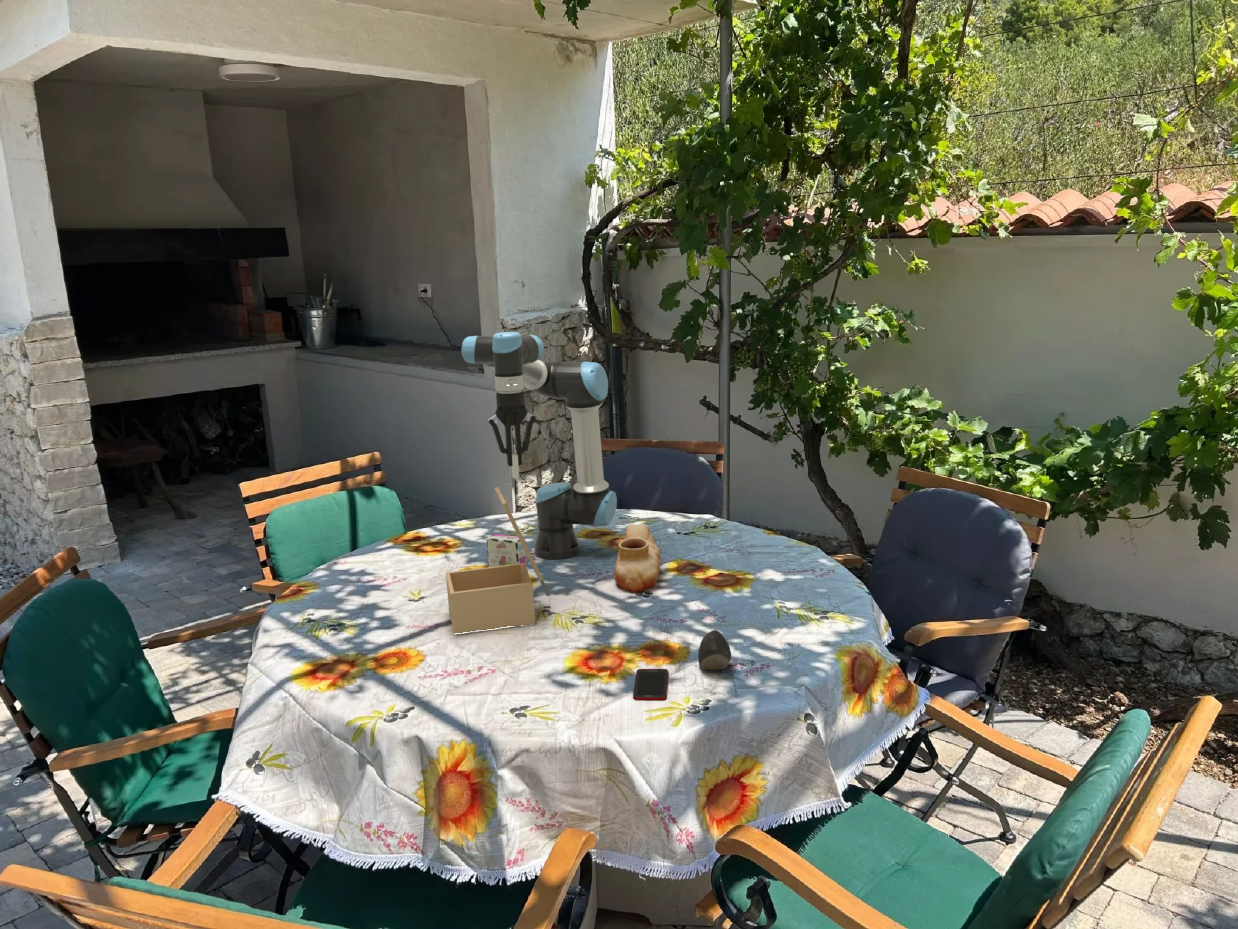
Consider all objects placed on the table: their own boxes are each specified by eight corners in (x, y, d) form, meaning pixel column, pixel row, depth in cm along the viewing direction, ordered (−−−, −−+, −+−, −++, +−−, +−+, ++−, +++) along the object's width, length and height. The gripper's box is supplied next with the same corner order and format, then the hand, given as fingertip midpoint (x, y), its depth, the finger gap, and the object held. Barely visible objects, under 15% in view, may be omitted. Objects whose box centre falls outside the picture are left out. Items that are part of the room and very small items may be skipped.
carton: (525, 602, 272) (523, 563, 269) (535, 624, 256) (532, 583, 253) (449, 612, 267) (445, 572, 264) (454, 635, 251) (450, 593, 248)
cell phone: (668, 672, 226) (668, 668, 226) (666, 702, 212) (666, 698, 212) (636, 672, 227) (636, 668, 227) (632, 701, 213) (632, 698, 213)
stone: (702, 675, 228) (694, 656, 220) (698, 648, 233) (691, 628, 225) (734, 670, 226) (728, 650, 219) (730, 642, 231) (724, 622, 224)
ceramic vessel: (663, 563, 299) (661, 518, 296) (658, 594, 274) (657, 545, 270) (620, 563, 301) (618, 519, 297) (611, 594, 275) (609, 546, 272)
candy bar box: (529, 588, 282) (526, 537, 278) (520, 594, 278) (516, 542, 274) (499, 583, 288) (495, 532, 284) (489, 589, 283) (485, 537, 279)
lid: (539, 581, 272) (542, 579, 272) (550, 602, 256) (553, 601, 256) (494, 488, 262) (497, 486, 262) (502, 504, 246) (506, 502, 246)
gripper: (487, 395, 243) (493, 483, 249) (536, 391, 247) (542, 478, 252) (483, 391, 250) (489, 476, 256) (531, 387, 254) (536, 471, 259)
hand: (515, 477), depth 254 cm, fingers closed
